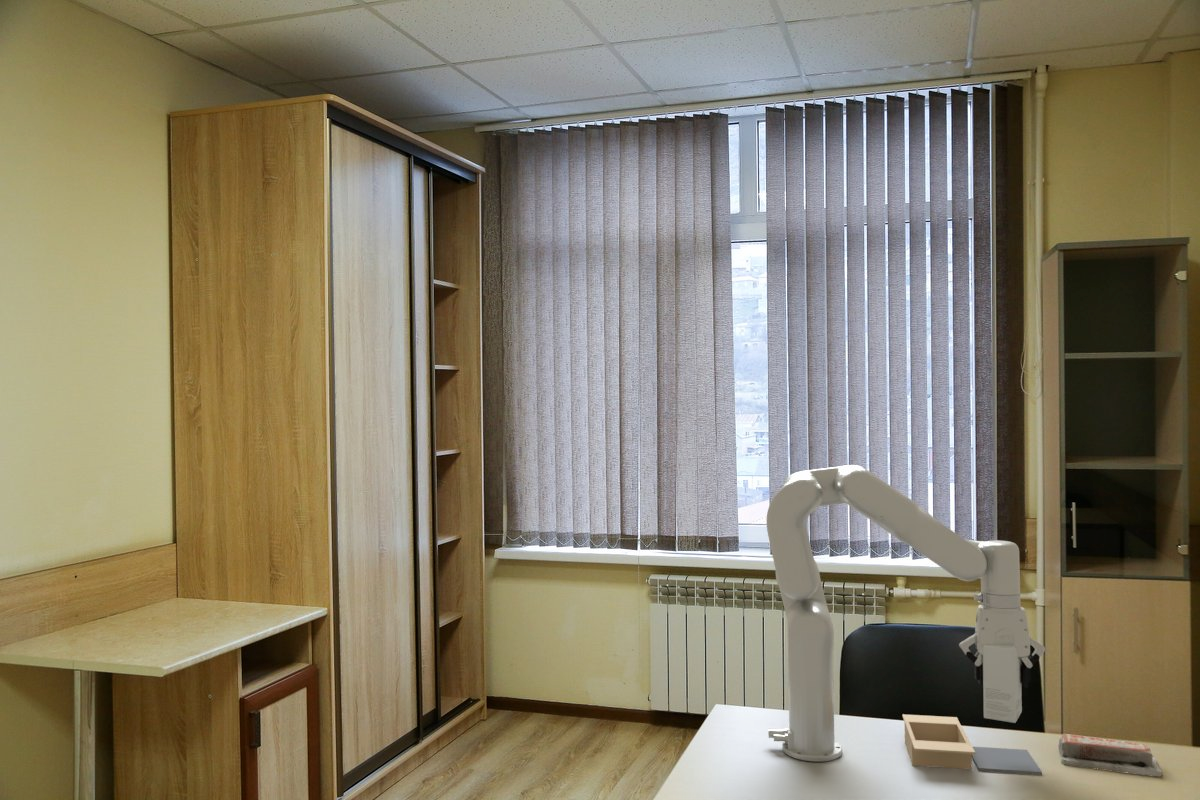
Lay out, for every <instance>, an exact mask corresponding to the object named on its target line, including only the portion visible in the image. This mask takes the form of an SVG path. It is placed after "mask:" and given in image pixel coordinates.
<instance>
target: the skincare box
mask: <svg viewBox="0 0 1200 800" xmlns="http://www.w3.org/2000/svg"><path fill="white" fill-rule="evenodd" d="M983 651H984V654H983V662H982V666H983V685H982V687H983V719H987V720H988V719H989V720H995V721H1001V722H1007V723H1011V724H1012V723H1014V724H1016V722H1017V721H1018V719H1019V718H1020V716H1021V714H1022V713H1023V712H1022V711H1023V706H1022V704H1023V703H1022V702H1023V701H1022V699H1023V698H1022V695H1023V694H1022V683H1021V664H1022V660H1021V658H1018V657H1017V646H1013V645H984V644H983Z"/></svg>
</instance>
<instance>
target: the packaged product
mask: <svg viewBox="0 0 1200 800" xmlns="http://www.w3.org/2000/svg"><path fill="white" fill-rule="evenodd" d="M1057 746H1058V753H1059V756H1060V757H1059V758H1060V763H1061V765H1063V764H1065V765H1064V766H1071V765H1072V766H1071V767H1079V766H1080V767H1081V768H1086V767H1088V769H1092V768H1096V769H1095V770H1100V769H1106V770H1105V771H1107V770H1112V771H1111V772H1114V771H1119V772H1118V773H1122V772H1128V773H1127V774H1130V773H1135V774H1134V775H1138V774H1144V775H1143V776H1146V775H1152V776H1151V777H1154V776H1161V777H1162V771H1161V769H1160V766H1159V765H1158V763H1157V760H1156V758H1155V757H1154V755H1153V753H1152V751H1151V748H1150V747H1149V746H1147V745H1146V744H1144V743H1137V742H1130V741H1122V740H1114V739H1109V738H1107V739H1106V738H1101V737H1093V736H1084V735H1080V734H1079V735H1078V734H1071V733H1070V734H1069V733H1062V734H1061V737H1060V738H1059V740H1058V745H1057ZM1080 767H1079V768H1080ZM1097 768H1098V769H1097Z"/></svg>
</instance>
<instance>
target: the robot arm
mask: <svg viewBox="0 0 1200 800" xmlns="http://www.w3.org/2000/svg"><path fill="white" fill-rule="evenodd" d="M841 504H847V505H848V506H849V507H850V508H852V509H853V510H855V511H856V512H858V513H859V514H861V515H863V516H864V517H865V518H866V519H868V520H870V521H872V522H873V523H874V524H876V525H877V526H879V527H880V528H882V529H883V530H884V531H886V532H887V533H888V534H890V535H891V536H893V537H894V538H896V539H897V540H898V541H900V542H902V543H903V544H905V545H907V546H909V547H911V548H912V549H913V550H915V551H916V552H919V553H920V554H922V555H923V556H924V557H926V558H927V559H929V560H930V561H932V562H933V563H934V564H936V565H938V566H939V567H940V568H942V569H943V570H944V571H946V572H947V573H949V574H950V575H951V576H953V577H955V578H956V579H958V580H960V581H964V582H973V581H976V580H979V579H980V592H979V593H977V594H974V595H973V600H974V602H978V603H980V604H978V606H977V611H976V616H975V617H976V618H975V627H974V628H975V629H974V633H973V634H972V635H970V636H968V637H967V638H966V639H964V640H962V641H961V642H959V643H958V646H959V648H960V650H962V652H963V653H964V655H965V656H966V657H967V658H968V659H969V660H970V661H971V662H972V663H973V664H974V679H975V680H976V681H977V682H978V684H979V685H980V686H983V654H984V651H983V644H984V645H1013V646H1017V657H1018V658H1021V686H1023V687H1024V688H1029V683H1031V680H1032V679H1031V676H1032V674H1031V668H1032V667H1033V666H1034V665H1035V664H1036V663H1037V662H1038V661H1039V660H1040V657H1041V656H1043V654H1044V653H1045V651H1046V647H1045V646H1044V645H1043V644H1042V643H1039V642H1038V641H1037V640H1035V639H1034V638H1032V637H1031V636H1030V631H1029V622H1028V618H1027V616H1028V615H1027V613H1026V608H1024V607H1023V606H1021V576H1020V575H1021V574H1020V573H1021V571H1020V569H1021V567H1020V548H1019V546H1018V545H1017V543H1015V542H1012V541H1008V540H999V539H997V540H996V539H995V540H994V539H993V540H986V541H985V540H984V541H983V540H973V539H966V538H964V537H962V536H961V535H959V534H958V533H957V532H955V531H953V530H952V529H950V528H949V527H948V526H946V525H945V524H943V523H942V522H940V521H939V520H938V519H936V518H935V517H934V516H933V515H931V514H930V513H929V512H928V511H927V510H925V508H924V507H922V506H921V505H920V504H918V503H916V502H915V501H914V500H912V499H911V498H909V497H908V496H907V495H905V494H904V493H902V492H900V491H899V490H898V489H896V488H894V487H893V486H891V485H890V484H888V483H887V482H885V481H884V480H883V479H881V478H880V477H878V476H877V475H875V474H874V473H872V472H871V471H869V470H868V469H866V468H864V466H861V465H857V464H847V465H841V466H834V467H825V468H817V469H809V470H801V471H800V470H799V471H797V472H794V473H791V474H790V475H789V476H787V478H786V479H785V481H784V482H783V485H782V487H781V488H780V489H779V490H778V491H777V492H776V493H775V495H774V496H773V498H772V499H771V500H770V503H769V506H768V509H767V513H766V531H767V536H768V540H769V545H770V551H771V556H772V559H773V564H774V568H775V569H774V570H775V581H776V583H777V586H778V587H779V592H780V596H781V601H782V605H783V608H784V613H785V617H786V623H787V666H788V668H787V670H788V674H787V677H788V723H789V724H787V728H784V727H783V728H782V729H777V728H768V738H769V739H773V742H782V751H783V753H785V754H786V755H788V757H791V758H794V759H797V760H800V761H805V762H817V763H819V762H820V763H821V762H830V761H833V760H837V759H838V758H839V757H841V756H842V754H843V748H842V745H841V744H840V743H839V742H837V741H835V698H834V697H835V695H834V693H835V691H834V690H835V689H834V685H835V684H834V681H835V680H834V645H835V633H834V631H835V630H834V623H833V620H832V618H831V615H830V612H829V607H828V605H827V604H828V603H827V600H826V596H825V593H824V587H823V583H822V580H821V574H820V569H819V567H818V563H817V562H816V560H815V558H814V555H813V550H812V547H811V546H812V545H811V543H810V542H811V541H810V537H809V532H808V528H807V521H808V518H809V517H810V515H811V514H812V512H814V511H815V510H816V509H818V507H826V506H832V505H833V506H834V505H841ZM973 644H974V647H975V649H976V650H977V651H976V652H975V654H974V653H973V651H971V650H970V649H969V647H970V646H972V645H973ZM1031 646H1032V647H1033V648H1035V649H1034V651H1033V652H1032V653H1031Z"/></svg>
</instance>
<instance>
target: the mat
mask: <svg viewBox="0 0 1200 800" xmlns="http://www.w3.org/2000/svg"><path fill="white" fill-rule="evenodd" d="M972 747H973V749H974V751H975V754H971V755H972V761H973V763H974V764H975V767H976V769H977V770H978V771H979V772H987V773H988V772H989V773H991V772H992V773H1006V774H1020V775H1022V774H1023V775H1034V776H1035V775H1038V776H1042V775H1043V771H1042V769H1041V768H1040V767H1039V765H1038V764H1037V763H1036V761H1035V759H1034V758H1033V757H1032V755H1031V754H1030V752H1029V750H1028V749H1024V748H1023V749H1020V748H1006V747H1005V748H1003V747H1002V748H1001V747H986V746H972Z"/></svg>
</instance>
